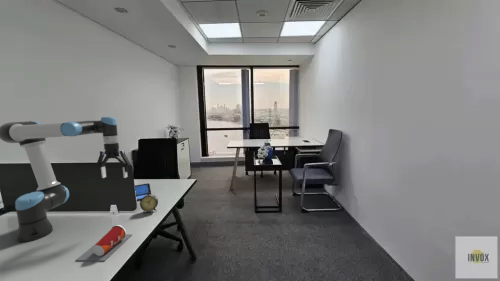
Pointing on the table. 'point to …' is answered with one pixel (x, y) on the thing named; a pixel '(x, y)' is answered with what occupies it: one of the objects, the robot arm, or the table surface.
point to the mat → (91, 256)
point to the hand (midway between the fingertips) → (114, 177)
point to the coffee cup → (109, 240)
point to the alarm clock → (149, 202)
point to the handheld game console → (142, 190)
